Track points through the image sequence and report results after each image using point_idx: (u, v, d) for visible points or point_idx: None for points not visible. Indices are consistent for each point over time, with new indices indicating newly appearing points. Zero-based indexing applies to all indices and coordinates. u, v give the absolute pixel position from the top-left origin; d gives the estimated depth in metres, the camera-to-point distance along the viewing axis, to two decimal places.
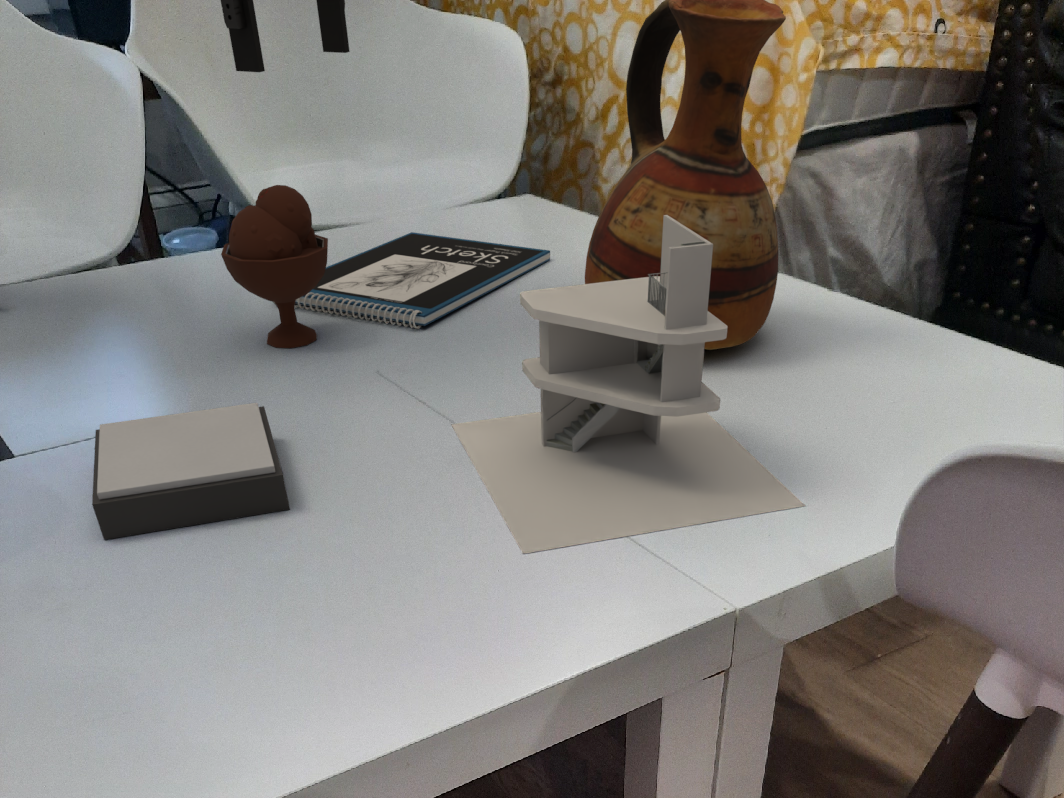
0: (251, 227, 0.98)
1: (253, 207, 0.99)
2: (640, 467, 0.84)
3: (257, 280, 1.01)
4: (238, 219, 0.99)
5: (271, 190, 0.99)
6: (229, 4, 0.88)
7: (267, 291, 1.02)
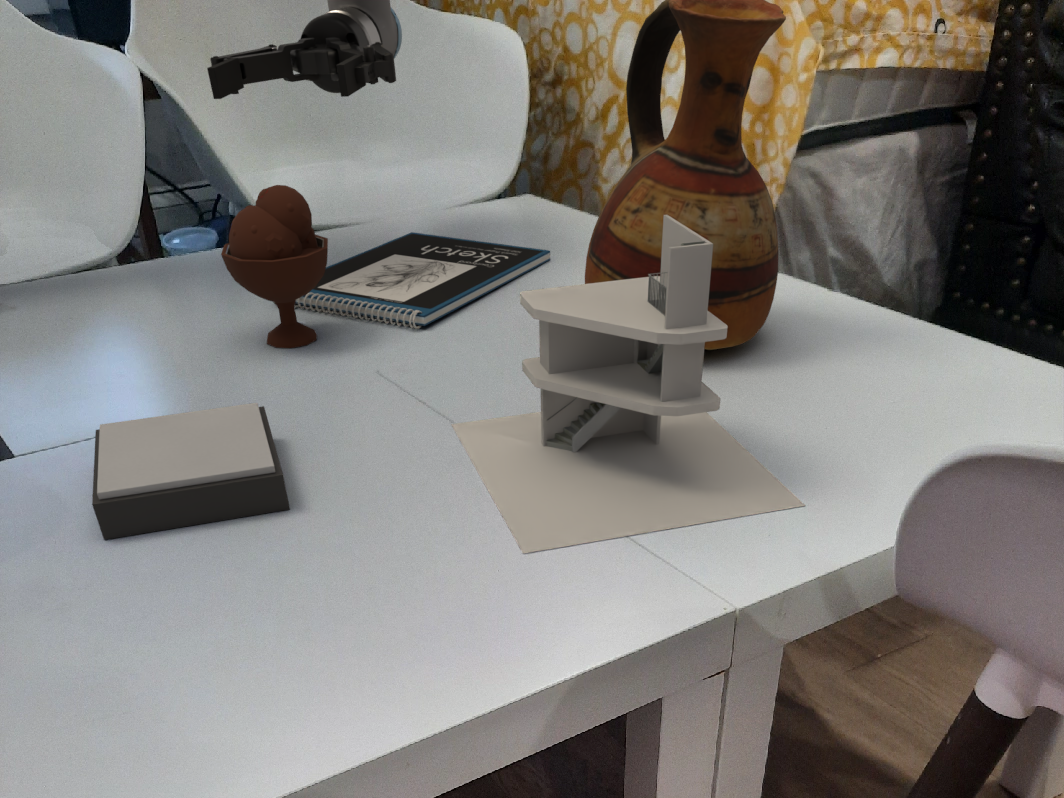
0: (251, 227, 0.98)
1: (253, 207, 0.99)
2: (640, 467, 0.84)
3: (257, 280, 1.01)
4: (238, 219, 0.99)
5: (271, 190, 0.99)
6: (370, 73, 1.04)
7: (267, 291, 1.02)
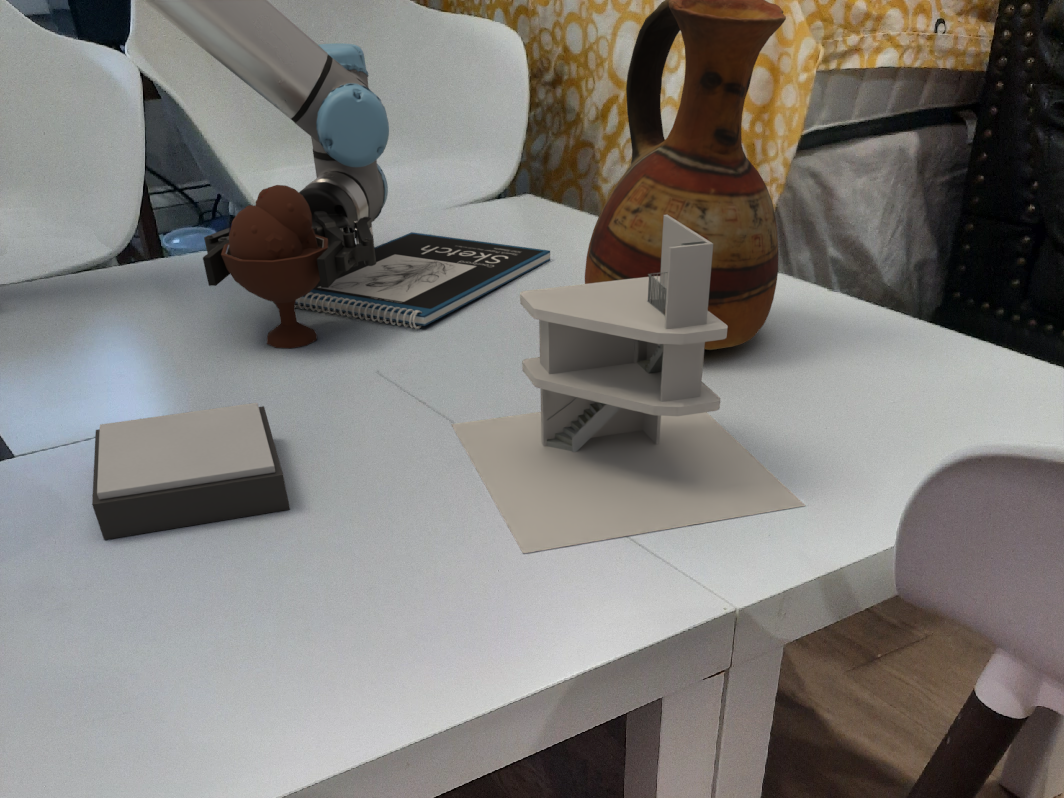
0: (251, 227, 0.98)
1: (253, 207, 0.99)
2: (640, 467, 0.84)
3: (257, 280, 1.01)
4: (238, 219, 0.99)
5: (272, 190, 0.99)
6: (350, 260, 1.04)
7: (267, 291, 1.02)
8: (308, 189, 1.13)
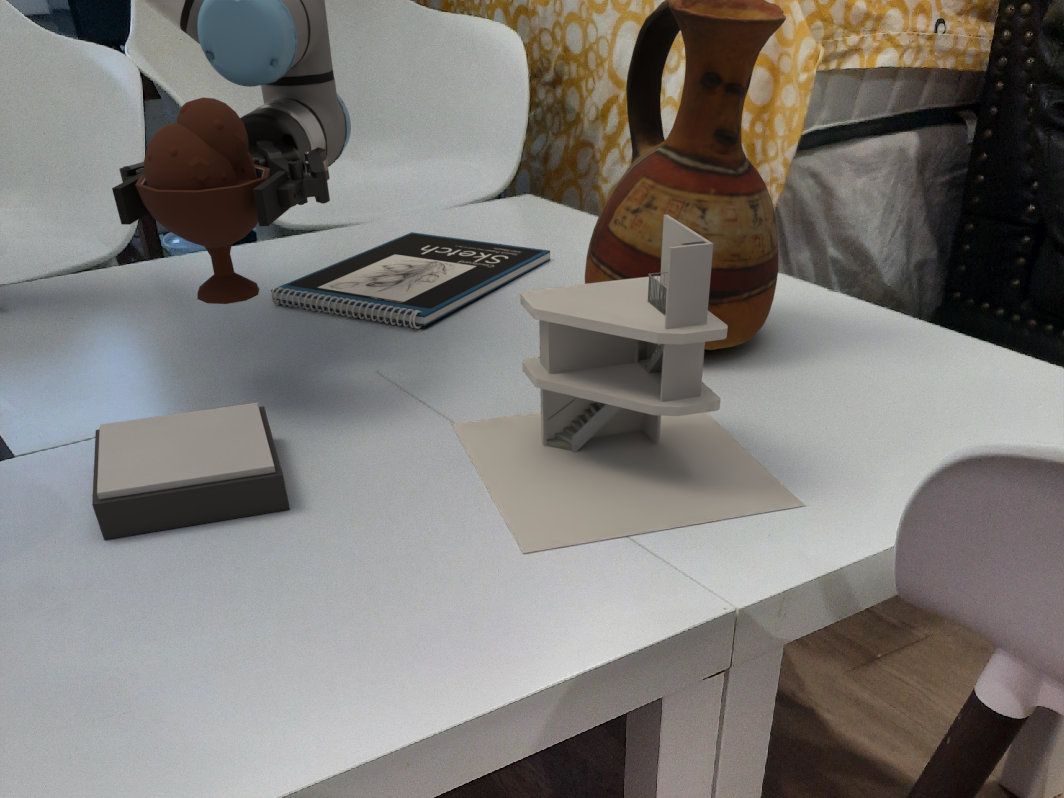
0: (170, 149, 0.79)
1: (173, 125, 0.80)
2: (640, 467, 0.84)
3: (180, 216, 0.81)
4: (154, 139, 0.80)
5: (196, 103, 0.80)
6: (297, 194, 0.85)
7: (193, 231, 0.83)
8: (250, 115, 0.93)
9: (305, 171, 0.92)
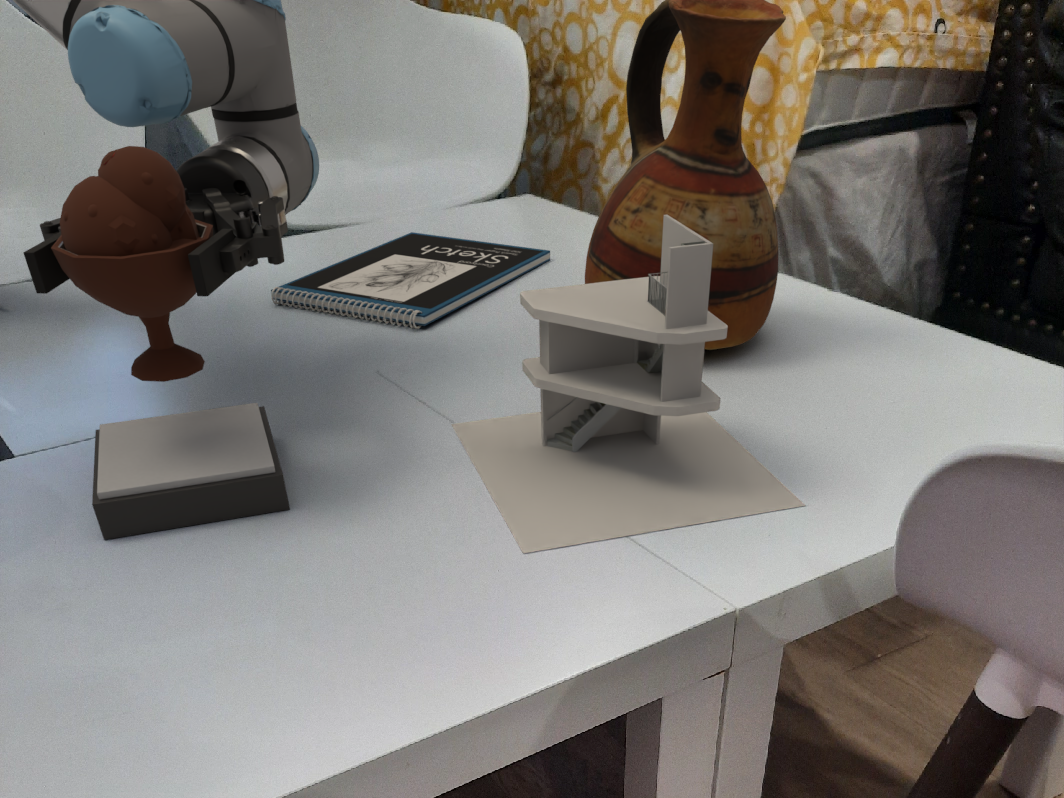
0: (88, 208, 0.67)
1: (94, 178, 0.68)
2: (640, 467, 0.84)
3: (103, 286, 0.69)
4: (71, 195, 0.67)
5: (120, 152, 0.67)
6: (244, 256, 0.72)
7: (120, 301, 0.70)
8: (196, 158, 0.81)
9: (259, 223, 0.80)
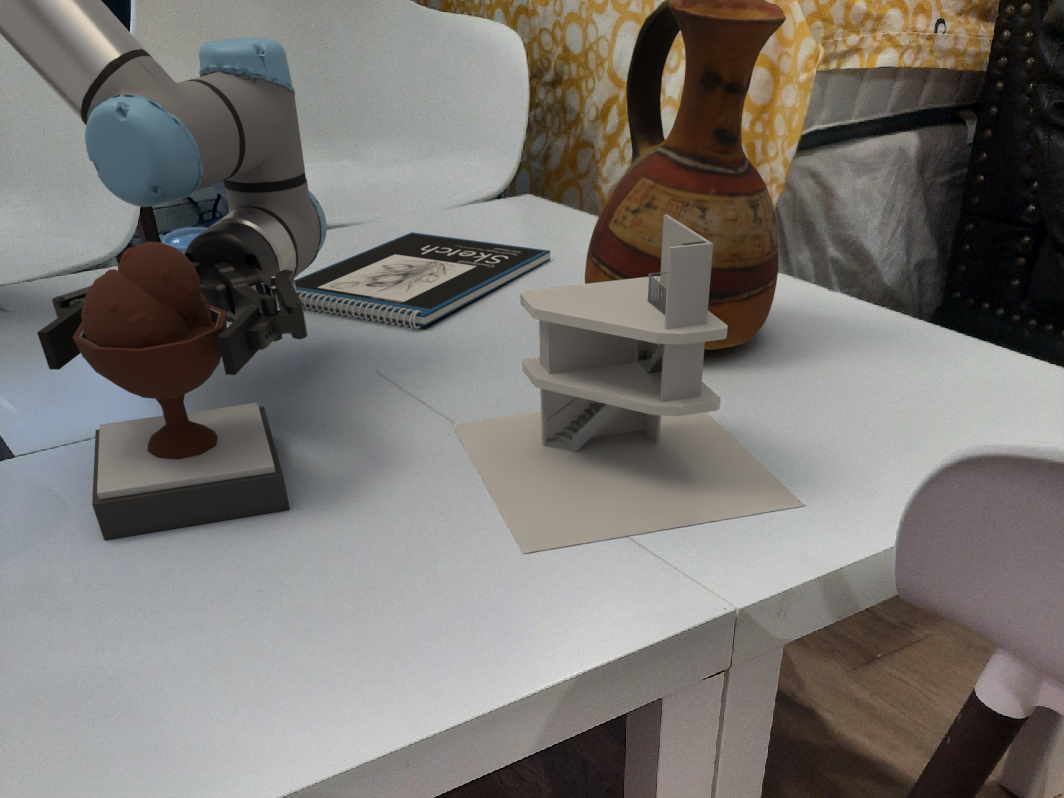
0: (109, 303, 0.70)
1: (114, 273, 0.71)
2: (640, 467, 0.84)
3: (122, 374, 0.72)
4: (92, 290, 0.71)
5: (139, 249, 0.70)
6: (269, 333, 0.76)
7: (138, 388, 0.73)
8: (208, 233, 0.84)
9: None
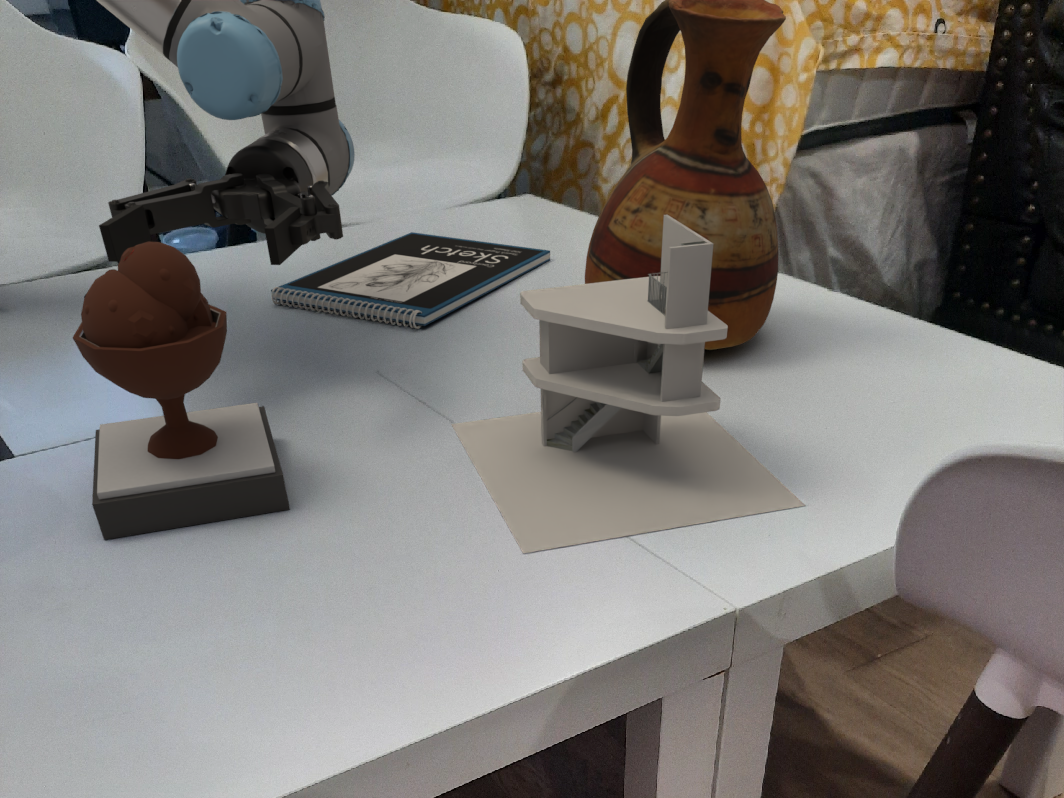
0: (109, 303, 0.70)
1: (114, 273, 0.71)
2: (640, 467, 0.84)
3: (122, 374, 0.72)
4: (92, 290, 0.71)
5: (139, 249, 0.70)
6: (309, 231, 0.83)
7: (138, 388, 0.74)
8: (250, 147, 0.91)
9: None
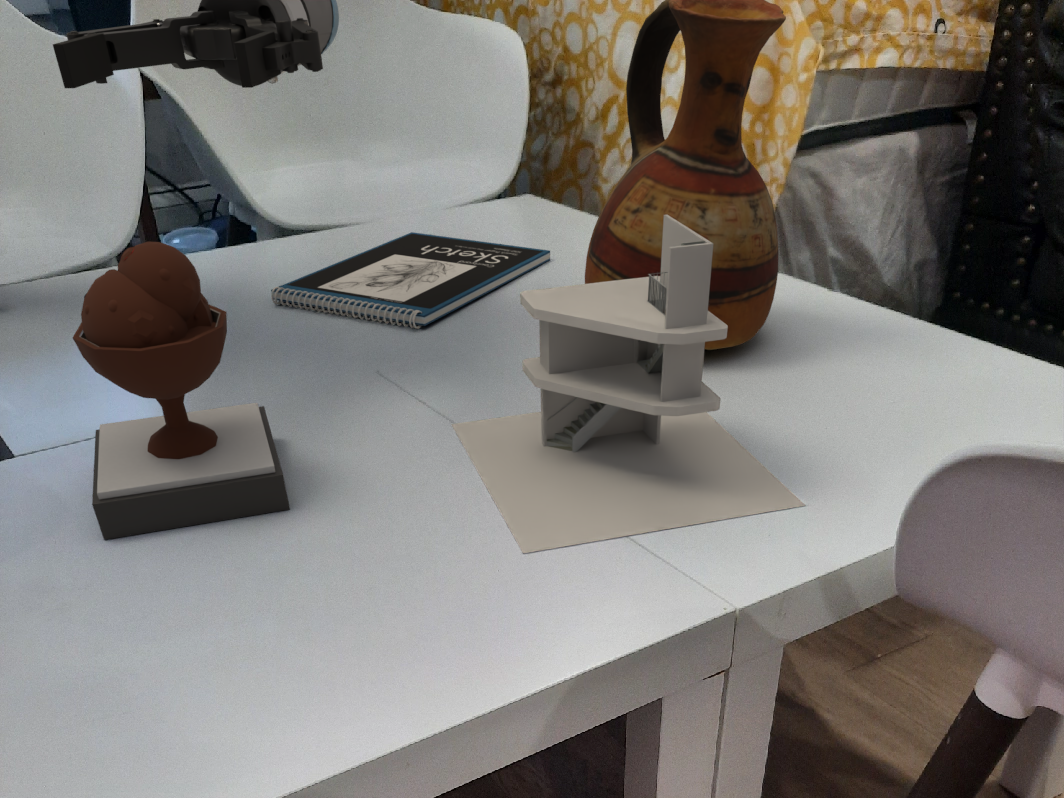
0: (109, 303, 0.70)
1: (114, 273, 0.71)
2: (640, 467, 0.84)
3: (122, 374, 0.72)
4: (92, 290, 0.71)
5: (139, 249, 0.70)
6: (285, 57, 0.75)
7: (138, 387, 0.74)
8: None
9: None
